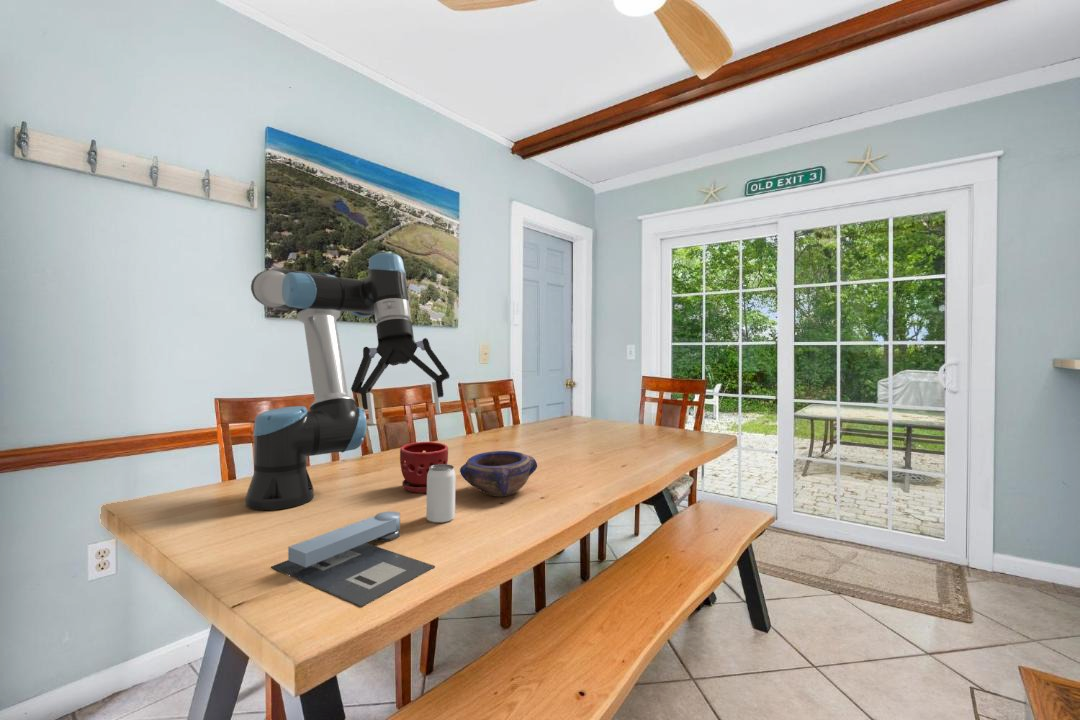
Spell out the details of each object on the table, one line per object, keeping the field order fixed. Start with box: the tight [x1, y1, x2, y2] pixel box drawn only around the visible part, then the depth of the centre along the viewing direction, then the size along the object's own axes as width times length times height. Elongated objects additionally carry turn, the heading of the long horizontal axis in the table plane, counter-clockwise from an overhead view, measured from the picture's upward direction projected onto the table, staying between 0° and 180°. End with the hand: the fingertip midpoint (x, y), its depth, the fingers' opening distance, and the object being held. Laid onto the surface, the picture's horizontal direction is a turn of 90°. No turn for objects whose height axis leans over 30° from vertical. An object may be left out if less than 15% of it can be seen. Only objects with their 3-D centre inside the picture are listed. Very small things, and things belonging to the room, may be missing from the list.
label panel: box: [270, 542, 436, 608], centre depth 86 cm, size 24×16×1 cm, turn 59°
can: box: [426, 463, 456, 524], centre depth 111 cm, size 6×6×12 cm
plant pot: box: [399, 441, 449, 494], centre depth 134 cm, size 13×13×12 cm
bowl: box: [459, 450, 538, 497], centre depth 132 cm, size 18×18×10 cm
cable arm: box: [287, 511, 401, 567], centre depth 93 cm, size 5×22×3 cm, turn 149°
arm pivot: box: [375, 528, 401, 542], centre depth 100 cm, size 5×5×1 cm
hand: (406, 418), depth 101 cm, fingers open, 13 cm apart
